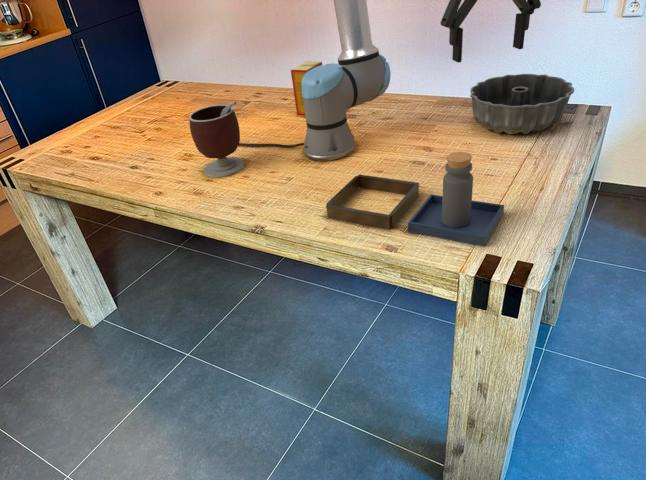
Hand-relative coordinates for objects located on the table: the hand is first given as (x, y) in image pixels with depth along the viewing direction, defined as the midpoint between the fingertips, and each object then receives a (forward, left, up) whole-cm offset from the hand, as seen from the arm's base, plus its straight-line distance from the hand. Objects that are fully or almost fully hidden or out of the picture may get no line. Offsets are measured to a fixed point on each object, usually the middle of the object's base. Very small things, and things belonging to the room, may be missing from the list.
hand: (487, 54), depth 108 cm
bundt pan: (0, +35, -29) cm, 45 cm away
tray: (+2, -22, -29) cm, 36 cm away
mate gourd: (-70, -14, -29) cm, 77 cm away
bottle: (+2, -22, -28) cm, 36 cm away
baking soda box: (-69, +34, -29) cm, 82 cm away
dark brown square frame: (-18, -21, -29) cm, 40 cm away
